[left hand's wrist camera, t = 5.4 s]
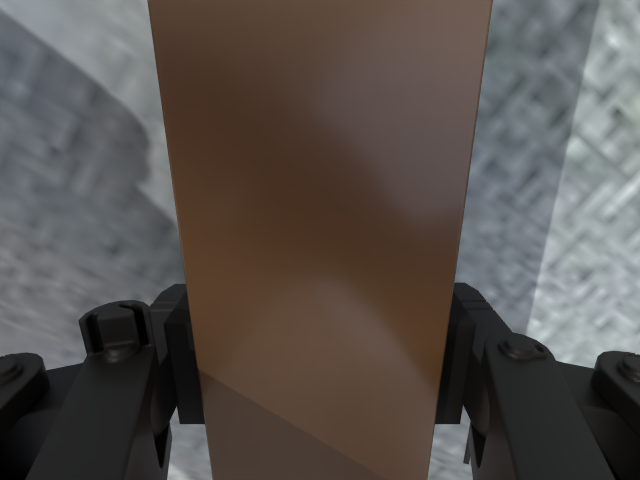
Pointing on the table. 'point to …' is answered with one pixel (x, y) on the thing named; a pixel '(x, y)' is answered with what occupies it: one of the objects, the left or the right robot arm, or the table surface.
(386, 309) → the post
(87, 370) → the left robot arm
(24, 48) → the table surface
